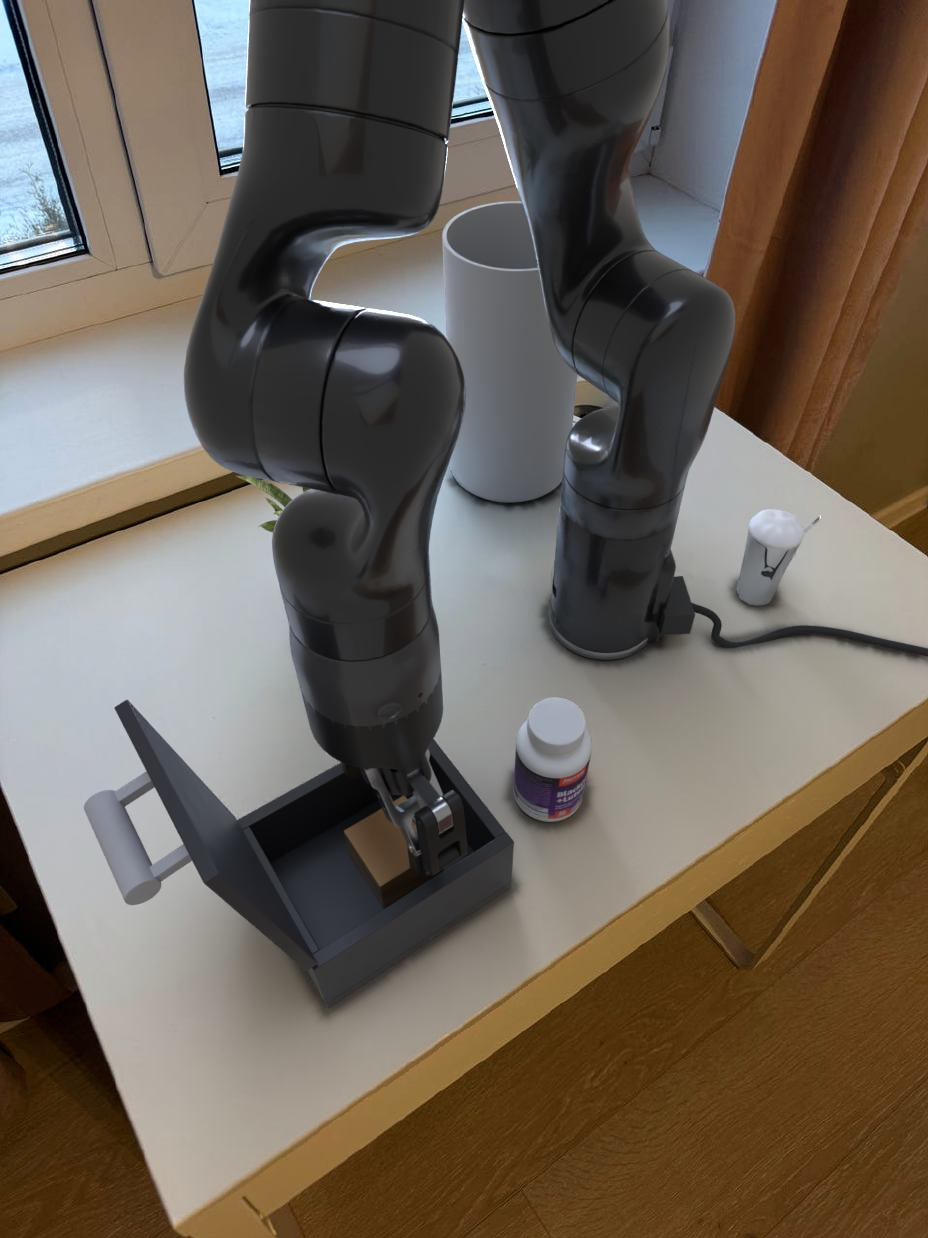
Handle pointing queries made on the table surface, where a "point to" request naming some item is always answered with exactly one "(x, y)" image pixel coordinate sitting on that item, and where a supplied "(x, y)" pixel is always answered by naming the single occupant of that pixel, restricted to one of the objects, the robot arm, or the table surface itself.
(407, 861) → the block
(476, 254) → the cylinder vase
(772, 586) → the milkshake
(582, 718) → the pill bottle
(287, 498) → the house plant
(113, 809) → the lid
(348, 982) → the dark grey rectangular box
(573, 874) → the table surface
